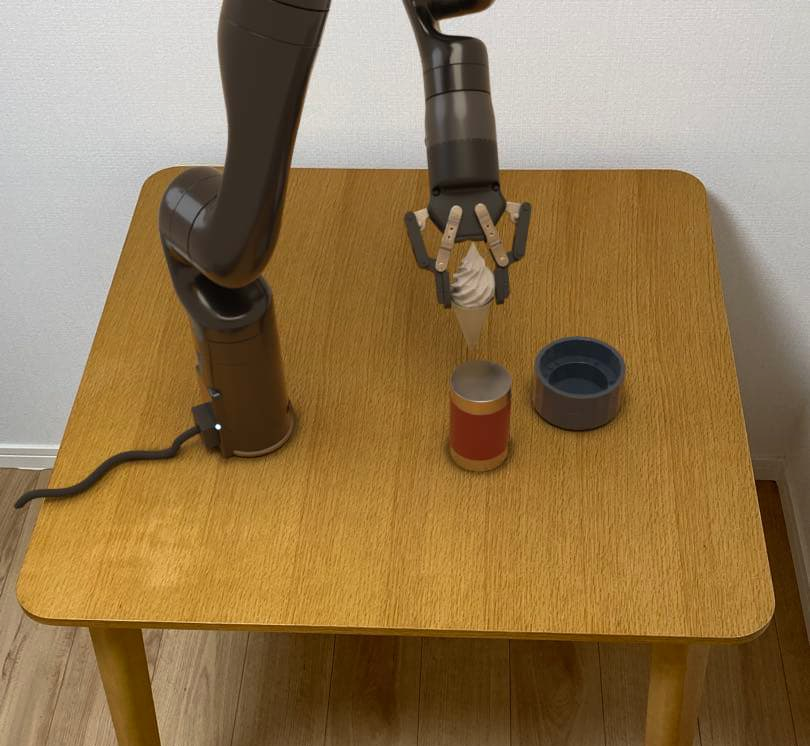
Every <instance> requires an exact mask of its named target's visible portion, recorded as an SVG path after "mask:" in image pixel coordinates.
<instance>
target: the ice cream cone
mask: <svg viewBox="0 0 810 746" xmlns="http://www.w3.org/2000/svg"><path fill="white" fill-rule="evenodd" d="M471 242H472V243H471V245H470V247H469V249H468V251H467V253H466V254H465V256H464V257H463V258H462V259H461V260H460V262H461V263H462V265H460V266H458V267H457V269H458V273H453V274H452V277H451V278H453V279H455V282H452V283H451V284H450V293H451V305H452V308H453V310H454V313H455V315H456V318H457V320H458V324H459V326H460V329H461V332H462V334H463V336H464V339H465V342H466V344H467V348H468V350H469V351H474V349H475V347H476V344H477V341H478V339H479V337H480V334H481V331H482V328H483V326H484V323H485V320H486V318H487V314H488V312H489V309H490V307H491V304H492V302H493V301H494V300H495V276H494V274H493V271H491V269H490V268H489V267H488V266H487V265H486V259H485V258H484V257H482V256H481V254H480V252H479V250H478V249H477V248H478V247H476V244H475V241H471Z"/></svg>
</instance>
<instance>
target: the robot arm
mask: <svg viewBox="0 0 810 746" xmlns="http://www.w3.org/2000/svg"><path fill="white" fill-rule="evenodd" d="M332 1H333V0H222V2H221V7H220V12H219V18H218V24H217V32H216V33H217V35H216V43H217V45H216V46H217V58H218V65H219V75H220V80H221V89H222V94H223V101H224V107H225V114H226V115H225V116H226V125H227V142H226V143H227V145H226V152H225V161H224V164H223V170H220V169H218V168H216V167H212V166H207V165H198V166H192V167H189V168H187V169H184V170H182V171H181V172H179V173H178V174H177V175H176V176H175V177H173V178H172V180H171V181H170V182H169V183H168V185H167V186H166V188H165V189H164V192H163V193H162V195H161V199H160V202H159V205H158V206H159V207H158V211H157V227H158V235H159V239H160V244H161V247H162V251H163V256H164V259H165V262H166V263H165V264H166V266H167V269H168V273H169V277H170V281H171V284H172V287H173V290H174V293H175V295H176V298H177V300H178V302H179V303H180V305H181V306H182V308H183V310H184V312H185V314H186V317H187V320H188V325H189V328H190V332H191V336H192V341H193V345H194V351H195V355H196V359H197V364H196V365H195V366H194V369H195V373H196V378H197V383H198V387H199V392H200V396H201V400H202V403H200V404H197V405H195V406H192V407H190V410H191V414H192V419H193V421H194V426H192V427H191V428H189V429H187V430H185V431H183V432H182V433H181V434H179V435H178V436H177V437H176V438H175V439H174V440H173V442H172V443H171V446H170V447H168V448H165V449H163V450H162V449H161V450H127V451H123V452H119V453H117V454H115V455H112V456H111V457H109V458H108V459H106V460H105V461H103V462H102V463H100V465H99V466H98V467H96V469H94V471H92V473H90V474H89V475H88V476H87V477H86V478H85V479H83V480H81V481H80V482H78V483H75V484H74V485H71V486H67V487H62V488H38V489H32V490H30V491H27V492H25V493H24V494H22V495H21V496H20V497H19V498H18V499H17V500H16V501H15V503H14V505H13V508H14V509H16V510H19V509H22V508H24V506H25V505H27V504H28V503H29V502H30V501H33V500H36V499H42V498H45V499H46V498H65V497H71V496H74V495H77V494H79V493H82V492H83V491H85V490H87V489H88V488H90V487H92V485H94V483H96V482H97V481H98V480H99V479H100V478H101V477H102V476H103V475H104V474H105V473H106V472H107V471H108V470H110V469H111V468H112V467H114V466H116V465H118V464H120V463H122V462H125V461H128V460H163V459H164V460H165V459H167V458H170V457H173V456H175V455H177V454H178V453H179V451H180V449H181V446H182V445H183V444H184V443H185V442H187V441H188V440H191V439H193V438H194V437H195V436H197V435H199V436H200V438H201V440H202V442H203V445H204V447H205V448H206V450H208V449H211V448H214V447H217V446H218V447H219V450H220V451H221V454H222V456H223V457H224V458H230V457H232V456H238V457H242V458H243V457H244V458H254V457H261V456H264V455H265V456H266V455H268V454H270V453H272V452H275V451H276V450H278V449H279V448H281V447H282V446H284V444H286V443H287V442H288V441H289V439H290V437H291V435H292V434H293V429H294V420H293V416H294V415H295V414H294V413H295V412H294V408H293V405H292V402H291V400H290V396H289V392H288V385H287V379H286V372H285V364H284V359H283V351H282V345H281V338H280V332H279V331H280V330H279V324H278V319H277V311H276V305H275V297H274V293H273V289H272V286H271V284H270V283H269V281H268V280H267V278H266V276H265V275H264V273H263V272H264V271H265V270H266V268H267V267H268V265H269V264H270V262H271V260H272V258H273V256H274V253H275V250H276V248H277V245H278V242H279V238H280V234H281V228H282V224H283V217H284V212H285V207H286V206H285V205H286V199H287V192H288V187H289V180H290V174H291V167H292V161H293V156H294V150H295V145H296V141H297V138H298V134H299V133H298V132H299V129H300V124H301V120H302V115H303V112H304V108H305V102H306V99H307V95H308V90H309V86H310V82H311V78H312V74H313V71H314V68H315V65H316V61H317V58H318V54H319V52H320V48H321V45H322V41H323V37H324V33H325V29H326V25H327V22H328V18H329V15H330V10H331V7H332ZM401 2H402V5H403V8H404V11H405V13H406V15H407V19H408V20H409V24H410V26H411V30H412V33H413V35H414V39H415V42H416V47H417V49H418V54H419V58H420V63H421V69H422V71H421V72H422V82H423V94H424V95H423V96H424V145H425V148H426V161H427V162H426V163H427V172H428V187H429V188H428V189H429V201H428V204H427V205H426V208H423V209H420V210H417V211H411V210H408V211H406V212H405V213H404V216H403V220H402V221H403V225H404V228H405V231H406V234H407V238H408V241H409V243H410V247H411V250H412V253H413V256H414V260H415V263H416V266H417V268H418V269H420V270H424V271H428V272H431V273H432V274H433V275H434V276H433V277H434V283H435V295H436V302H437V303H438V305H442V307H443V310H451V309H452V302H451V293H450V288H451V287H450V285H451V284H450V282H451V281H450V271H448V270H447V269H448V268H447V267H448V263H449V261H450V257H451V254H452V250H453V247H454V244H461V243H462V244H463V243H465V242H468V241H469V242H474V243H475V242H483V244H484V246H485V248H486V250H487V251H488V253H489V255H490V258H491V260H492V262H493V264H494V269H493V271H492V273H493V274H494V276H495V297H494V300H495V305H496V306H501V305H505V300H506V299H508V298H509V297H510V294H511V287H510V276H509V275H510V274H509V267H510V266H511V265H513V264H515V263H518V262H520V261H521V260H522V259H524V257H525V255H526V250H527V249H526V248H527V241H528V235H529V229H530V223H531V215H532V204H531V203H530V202H528V201H524V202H522V203H519V202H513V201H512V202H511V201H507V200H506V198H505V196H504V194H503V192H502V188H501V178H500V177H501V175H500V161H499V149H498V136H497V135H498V133H497V123H496V122H497V121H496V115H495V109H494V105H493V99H492V88H491V87H492V86H491V74H490V61H489V52H488V48H487V46H486V44H485V42H484V41H483V40H482V39H480V38H479V37H476V36H471V35H461V34H459V35H458V34H448V33H447V34H446V33H443V32H442V30H441V25H440V21H445V20H450V19H456V18H460V17H465V16H469V15H470V16H471V15H475V14H479V13H482V12H485V11H487V10H489V9H491V7H492V6H493V5H495V3H496V0H401ZM504 213H507V214H508V216H509V217H508V219H509V222H510V223H511V224H512V225H514V231H513V237H512V245H511V250H510V251H507V252H506V250H505V248H504V245H503V244H502V240H501V238H500V236H499V233H498V231H497V229H496V227H497V225H498V223H499V221H500V220H501V219H502V216H503V215H504ZM427 219H428V220H430V221H431V222H432V223H433V225H435V227H436V228H437V230H438V231H439V232H440V233H441V235H442V237H441V241H440V244H439V247H438V252H437V255H436V258H434V257H430V256H429V254H428V251H427V248H426V245H425V241H424V239H423V235H422V232H424V231H425V229H426V221H427Z"/></svg>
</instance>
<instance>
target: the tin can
mask: <svg viewBox="0 0 810 746" xmlns="http://www.w3.org/2000/svg"><path fill="white" fill-rule="evenodd" d="M512 382H513V381H512V376H511V374H510V372H509V371H508V369H507V368H505V366H503V365H502V364H500V363H498V362H496V361H493V360H488V359H473V360H469V361H466V362H463V363H461V364H460V365H458V366H457V367H456V368H455V369H454V370H453V371H452V373H451V375H450V378H449V454H450V458H451V459H452V460H453V461H454V463H455V464H456V465H457V466H459V467H460V468H462V469H463V470H466V471H470V472H477V473H480V472H481V473H483V472H488V471H492V470H494V469H496V468H498V467H499V466H501V465H502V464H503V463H504V462H505V461H506V459H507V457H508V453H509V443H510V442H509V441H510V429H511V428H510V427H511V411H512V410H511V409H512V408H511V407H512Z"/></svg>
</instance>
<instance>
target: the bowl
mask: <svg viewBox="0 0 810 746" xmlns="http://www.w3.org/2000/svg"><path fill="white" fill-rule="evenodd" d="M533 365H534V366H533V377H532V390H531V391H532V392H531V399H532V403H533V408H534V409H535V410H536V412H537V413H538V414H539V416H540V417H541V418H543V419H544V420H545V421H546V422H548V423H550V424H552V425H554V426H555V427H559V428H562V429H565V430H574V431H584V430H592V429H596V428H599V427H601V426H604V425H606V424H608V423H609V422H610V421H611V420H613V419H615V417H616V416H617V414H618V412H619V411H620V409H621V406H622V400H623V395H624V393H623V392H624V386H625V379H626V373H627V372H626V371H627V365H626V362H625V360H624V357H623V355H622V354H621V353H620V352H619V351H618V350H617V348H615V347H614V346H612V345H611V344H609V343H607V342H606V341H604V340H601V339H597V338H594V337H590V336H582V335H573V336H565V337H561V338H558V339H556V340H552V341H550V342H549V343H547V344H546V345H544V346H543V347H542V348H541V349H540V351H539V352H538V353H537V354H536V356H535V359H534V364H533Z"/></svg>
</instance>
